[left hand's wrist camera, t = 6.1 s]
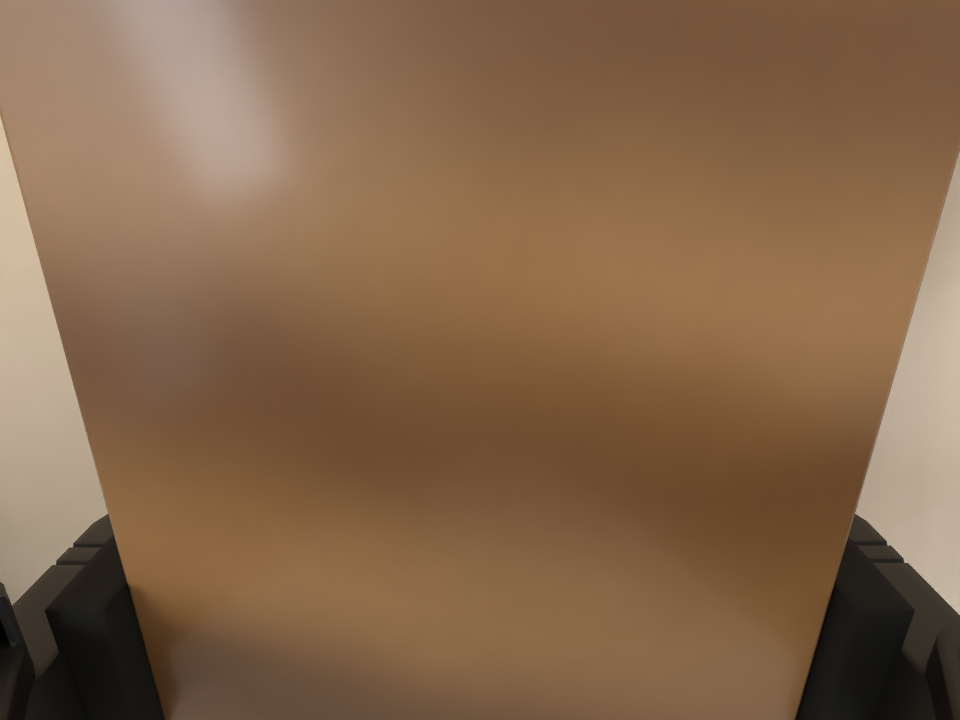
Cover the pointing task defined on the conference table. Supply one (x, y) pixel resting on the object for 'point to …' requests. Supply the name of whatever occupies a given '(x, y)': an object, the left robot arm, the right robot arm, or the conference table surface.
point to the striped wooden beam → (481, 333)
